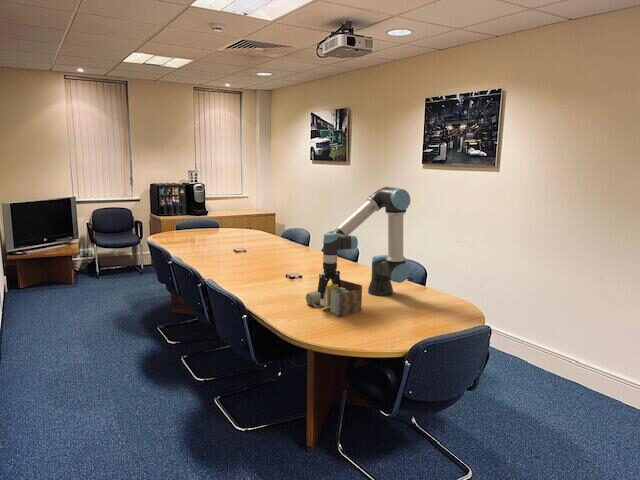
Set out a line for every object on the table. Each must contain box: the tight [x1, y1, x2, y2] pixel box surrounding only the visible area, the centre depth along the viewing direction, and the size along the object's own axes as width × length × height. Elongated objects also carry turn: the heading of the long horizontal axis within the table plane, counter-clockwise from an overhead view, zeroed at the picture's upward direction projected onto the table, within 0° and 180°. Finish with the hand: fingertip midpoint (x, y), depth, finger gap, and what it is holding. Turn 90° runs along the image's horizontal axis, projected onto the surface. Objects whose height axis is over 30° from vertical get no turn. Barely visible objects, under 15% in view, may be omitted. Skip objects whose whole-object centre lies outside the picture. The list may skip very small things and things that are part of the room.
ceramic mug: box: [305, 290, 324, 309], centre depth 261 cm, size 11×8×8 cm
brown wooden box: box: [329, 279, 363, 318], centre depth 255 cm, size 16×20×14 cm
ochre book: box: [319, 282, 338, 308], centre depth 255 cm, size 8×6×11 cm
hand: (328, 302), depth 256 cm, fingers closed on ochre book, 8 cm apart
